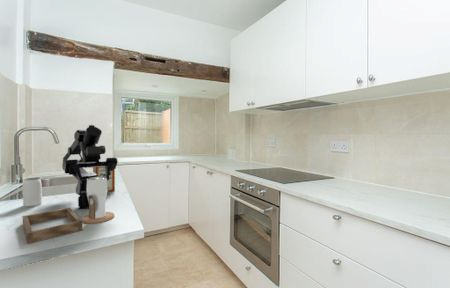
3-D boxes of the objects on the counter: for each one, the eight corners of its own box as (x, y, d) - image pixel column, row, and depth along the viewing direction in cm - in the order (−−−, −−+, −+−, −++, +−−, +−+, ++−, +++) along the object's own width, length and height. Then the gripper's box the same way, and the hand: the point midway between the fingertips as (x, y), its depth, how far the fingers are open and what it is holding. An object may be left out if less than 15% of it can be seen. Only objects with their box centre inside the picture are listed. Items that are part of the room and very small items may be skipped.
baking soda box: (96, 193, 122) (95, 164, 122) (93, 191, 127) (92, 163, 126) (114, 191, 129) (114, 163, 128) (111, 189, 134) (110, 162, 133)
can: (20, 205, 101) (19, 179, 100) (37, 201, 106) (37, 176, 106) (27, 207, 98) (26, 180, 97) (44, 204, 103) (44, 178, 103)
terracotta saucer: (114, 211, 94) (114, 210, 94) (114, 220, 84) (114, 219, 84) (83, 215, 89) (83, 214, 89) (79, 225, 79) (79, 223, 79)
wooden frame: (69, 214, 90) (69, 207, 90) (82, 229, 76) (82, 221, 76) (22, 224, 80) (22, 216, 80) (27, 243, 66) (27, 233, 66)
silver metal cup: (105, 212, 91) (105, 175, 91) (109, 217, 86) (109, 178, 86) (85, 216, 87) (85, 177, 86) (88, 221, 82) (88, 180, 81)
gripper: (64, 139, 87) (68, 171, 79) (116, 139, 99) (124, 166, 91) (62, 157, 93) (66, 189, 85) (111, 155, 105) (118, 182, 97)
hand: (95, 181), depth 90 cm, fingers open, 9 cm apart
